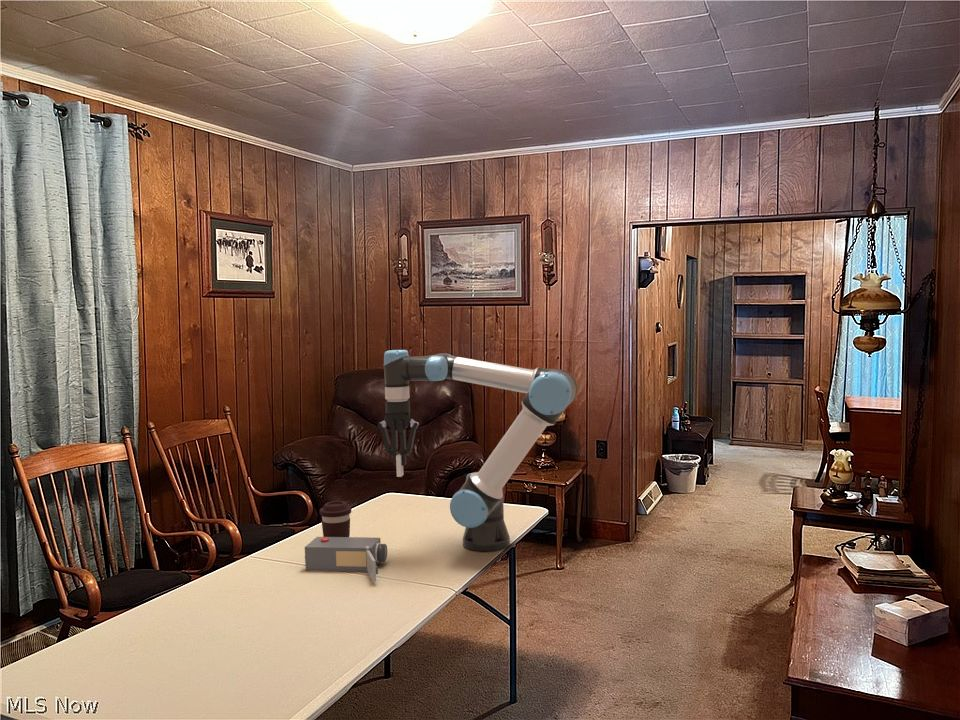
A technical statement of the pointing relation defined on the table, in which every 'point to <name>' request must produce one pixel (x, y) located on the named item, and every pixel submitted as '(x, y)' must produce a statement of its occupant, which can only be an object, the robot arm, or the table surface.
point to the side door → (371, 566)
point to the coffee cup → (336, 519)
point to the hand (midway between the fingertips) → (400, 475)
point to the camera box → (343, 553)
